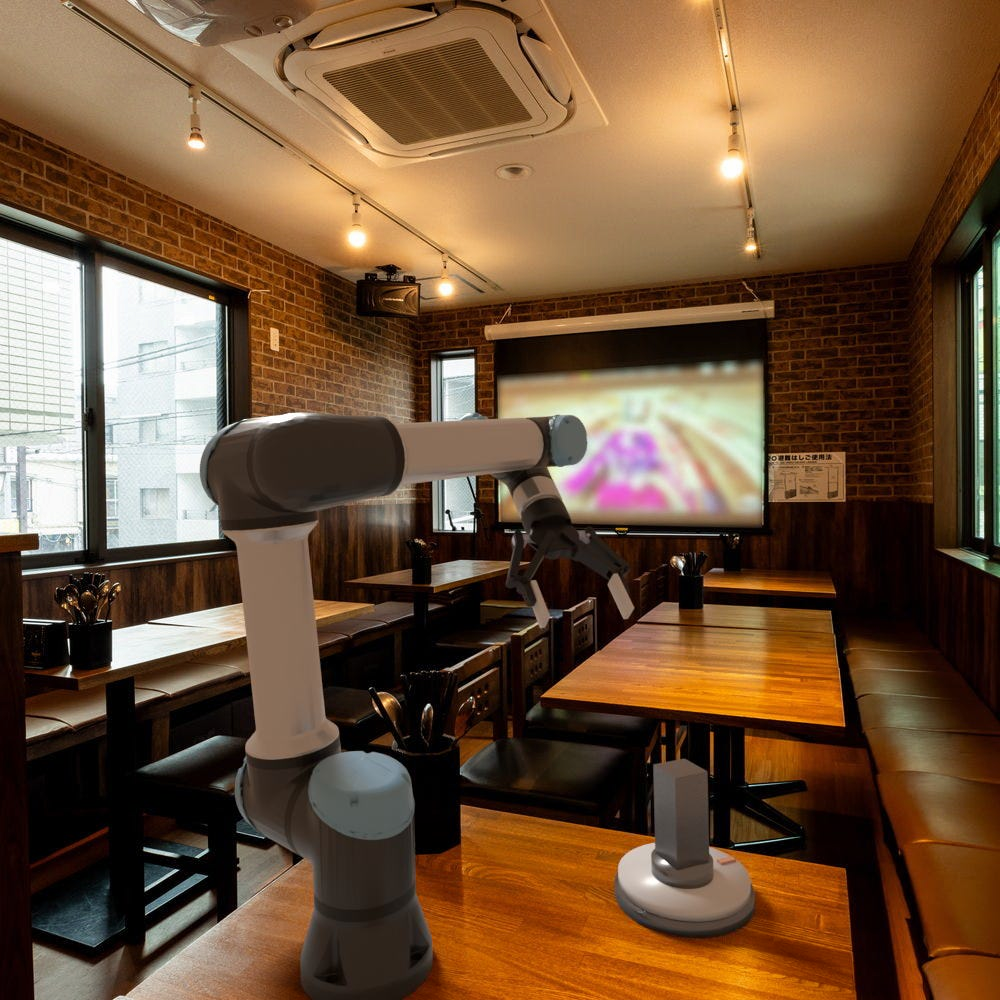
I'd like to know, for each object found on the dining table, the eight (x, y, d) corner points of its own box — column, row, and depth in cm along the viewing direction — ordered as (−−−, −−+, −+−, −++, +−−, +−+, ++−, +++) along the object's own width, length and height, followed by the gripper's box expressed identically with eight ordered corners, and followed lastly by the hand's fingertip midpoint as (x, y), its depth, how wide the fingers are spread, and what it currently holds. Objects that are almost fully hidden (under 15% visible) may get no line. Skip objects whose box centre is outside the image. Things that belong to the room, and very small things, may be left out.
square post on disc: (674, 894, 93) (672, 784, 93) (640, 864, 101) (637, 762, 101) (726, 880, 96) (724, 773, 96) (689, 852, 104) (687, 753, 103)
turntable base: (664, 953, 87) (663, 940, 87) (591, 878, 104) (590, 867, 104) (785, 916, 94) (785, 904, 94) (698, 851, 110) (698, 841, 110)
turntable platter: (665, 935, 88) (664, 920, 88) (595, 867, 104) (595, 854, 103) (779, 902, 94) (779, 888, 94) (697, 842, 110) (697, 830, 110)
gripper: (602, 523, 128) (652, 624, 114) (464, 530, 119) (501, 641, 105) (617, 492, 123) (671, 595, 109) (474, 497, 114) (514, 610, 100)
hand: (588, 618), depth 107 cm, fingers open, 13 cm apart
